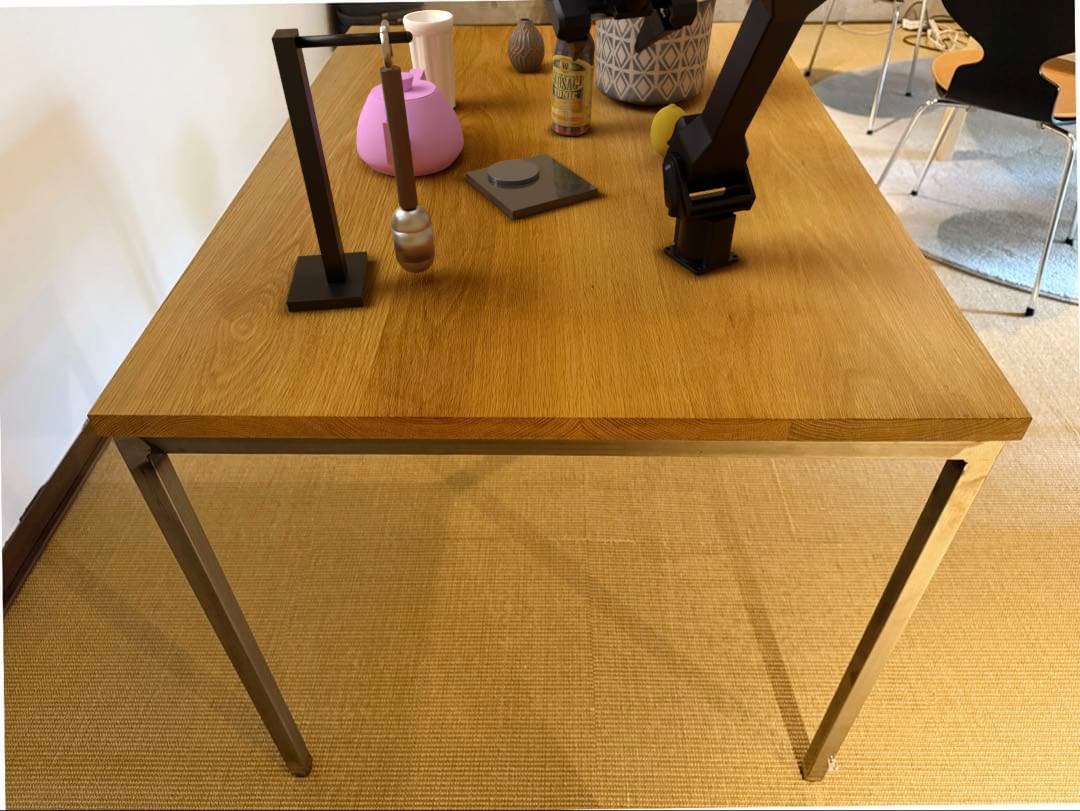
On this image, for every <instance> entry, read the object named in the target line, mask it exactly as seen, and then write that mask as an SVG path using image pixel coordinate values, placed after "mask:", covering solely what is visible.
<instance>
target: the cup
mask: <svg viewBox="0 0 1080 811" xmlns="http://www.w3.org/2000/svg"><path fill="white" fill-rule="evenodd" d="M402 23H403V27H404V29H405V31H409V32H411V33H412V35H413V40H412V41H411V42H410V43H408V45H409V51H410V57H411V58H410V59H411V63H412V69H424V71H425V75H426V80H427V81H429V82H431V83H433V84H434V85H436V87H437V88H438V89H439V90H440V91H441V92H442V94H443V95H444V96H445V98H446V99H447V101H448V102H449V103H450V105H451V106H452V108H453V109H454V108H455V107H456V86H455V84H456V83H455V64H454V42H453V41H454V40H453V39H454V38H453V28H454V15H453V13H451V12H449V11H445V10H439V9H426V10H418V11H412V12H410V13H407V14H405V15H404V16H403V18H402Z"/></svg>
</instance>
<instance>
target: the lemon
mask: <svg viewBox="0 0 1080 811" xmlns="http://www.w3.org/2000/svg"><path fill="white" fill-rule="evenodd" d="M685 115H688V114H687V113H686V112H685V110H684V109H683V108H682V107H679V106H677V105H676V104H675V103H669V104H668V105H667V106H664V107H663V108H661V109H660V110H658V112H657V113H656V114H655V115H654V117H653V119H652V123H651V127H650V143H651V146H652V148H653V150H654V151H655V152H656V153H657V154H658V155H660V156H662V157H663V159H664V158H665V156H666V152H667V150H668V148H669V145H667V141H668V140H669V139H670V138H671V136H672V134H673V131H674V128H675V124H676V122H677V121H678V119H679V118H680V117H681V116H685Z"/></svg>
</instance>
